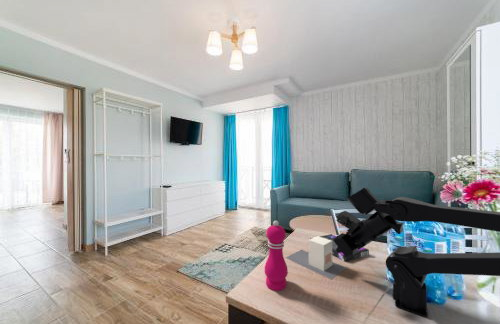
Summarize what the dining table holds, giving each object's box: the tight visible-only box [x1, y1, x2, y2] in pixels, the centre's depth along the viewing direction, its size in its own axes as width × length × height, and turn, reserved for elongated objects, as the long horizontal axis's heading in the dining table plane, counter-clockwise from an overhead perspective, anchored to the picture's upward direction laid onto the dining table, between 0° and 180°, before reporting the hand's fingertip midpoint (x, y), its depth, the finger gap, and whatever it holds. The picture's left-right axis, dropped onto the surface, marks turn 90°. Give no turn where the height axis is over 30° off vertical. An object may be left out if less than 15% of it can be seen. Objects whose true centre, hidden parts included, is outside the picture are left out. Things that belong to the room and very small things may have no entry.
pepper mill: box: [264, 220, 289, 292], centre depth 61 cm, size 7×7×20 cm
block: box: [308, 235, 333, 271], centre depth 72 cm, size 6×6×9 cm
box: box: [309, 233, 370, 263], centre depth 86 cm, size 14×4×20 cm
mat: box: [285, 249, 347, 280], centre depth 74 cm, size 19×11×1 cm, turn 40°
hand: (337, 250), depth 67 cm, fingers closed
